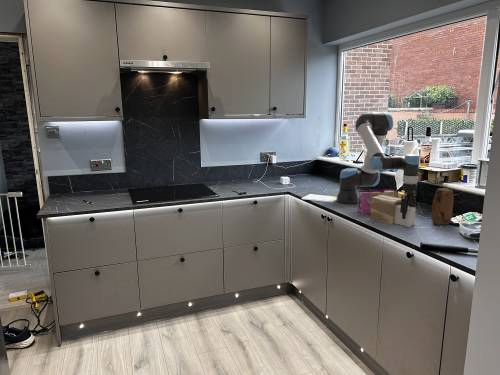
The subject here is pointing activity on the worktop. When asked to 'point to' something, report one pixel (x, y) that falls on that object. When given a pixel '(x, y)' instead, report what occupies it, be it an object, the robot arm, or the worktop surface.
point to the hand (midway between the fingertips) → (406, 222)
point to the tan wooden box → (383, 208)
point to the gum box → (366, 196)
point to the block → (442, 206)
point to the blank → (409, 216)
